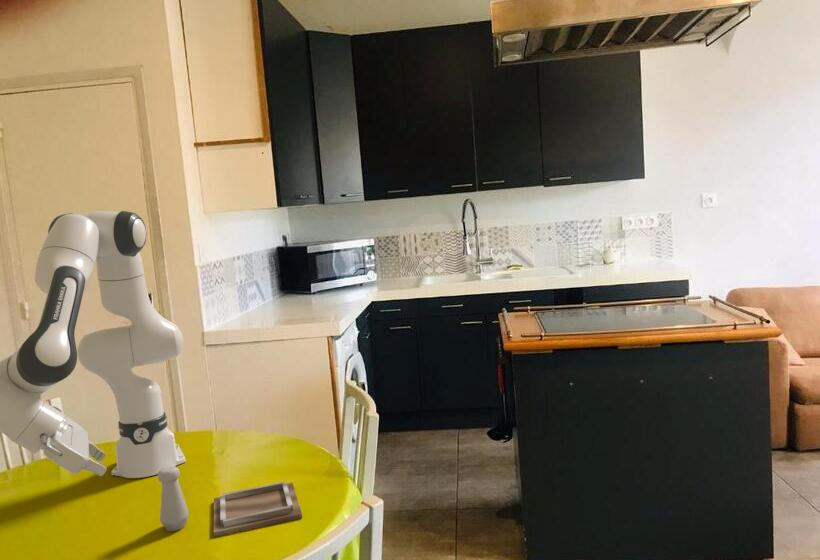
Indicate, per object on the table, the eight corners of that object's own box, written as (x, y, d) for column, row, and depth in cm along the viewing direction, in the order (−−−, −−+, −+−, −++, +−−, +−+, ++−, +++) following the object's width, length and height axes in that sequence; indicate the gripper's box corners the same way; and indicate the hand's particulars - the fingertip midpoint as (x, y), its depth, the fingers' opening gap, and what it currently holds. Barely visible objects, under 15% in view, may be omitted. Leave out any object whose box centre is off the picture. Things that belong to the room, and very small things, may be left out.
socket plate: (214, 502, 155) (213, 493, 155) (292, 486, 160) (291, 477, 160) (214, 537, 138) (213, 526, 138) (302, 518, 143) (301, 508, 142)
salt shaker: (180, 533, 141) (172, 474, 139) (156, 533, 142) (147, 474, 141) (194, 520, 146) (187, 463, 145) (171, 520, 148) (163, 463, 146)
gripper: (51, 429, 123) (116, 467, 129) (55, 404, 142) (112, 438, 147) (27, 458, 122) (94, 495, 127) (34, 429, 140) (92, 462, 146)
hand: (104, 464), depth 137 cm, fingers open, 8 cm apart
